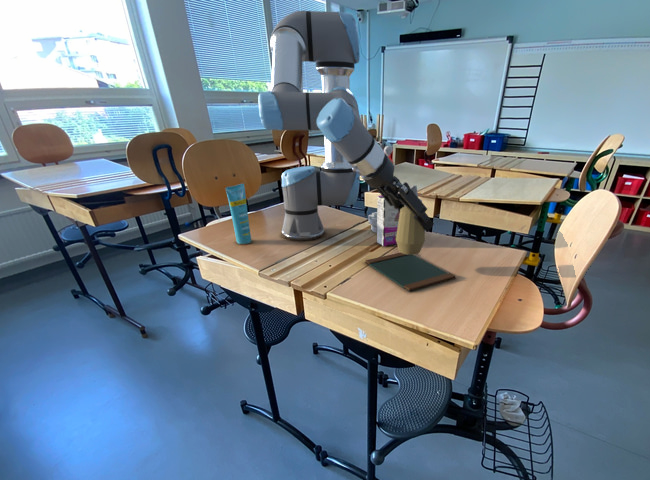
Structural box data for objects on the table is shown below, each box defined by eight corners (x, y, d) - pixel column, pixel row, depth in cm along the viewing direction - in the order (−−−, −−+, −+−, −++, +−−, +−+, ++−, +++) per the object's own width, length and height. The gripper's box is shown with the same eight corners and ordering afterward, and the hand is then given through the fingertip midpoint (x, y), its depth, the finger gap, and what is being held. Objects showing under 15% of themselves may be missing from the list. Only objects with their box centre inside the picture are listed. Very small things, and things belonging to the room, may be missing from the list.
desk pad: (365, 263, 103) (365, 260, 102) (407, 253, 110) (407, 250, 109) (409, 292, 86) (409, 289, 86) (455, 278, 93) (455, 275, 93)
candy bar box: (402, 238, 123) (405, 191, 115) (410, 242, 119) (413, 194, 111) (375, 242, 119) (376, 194, 111) (383, 247, 115) (384, 197, 107)
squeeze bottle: (405, 244, 100) (409, 181, 91) (429, 251, 96) (436, 185, 87) (389, 252, 95) (392, 185, 86) (413, 259, 90) (419, 189, 81)
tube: (242, 246, 114) (232, 187, 105) (231, 244, 116) (220, 186, 106) (257, 239, 120) (248, 183, 111) (246, 237, 122) (236, 182, 112)
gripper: (343, 171, 85) (393, 225, 101) (386, 184, 71) (436, 245, 86) (361, 148, 85) (408, 205, 100) (408, 155, 71) (455, 222, 86)
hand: (421, 224), depth 93 cm, fingers closed on squeeze bottle, 6 cm apart
